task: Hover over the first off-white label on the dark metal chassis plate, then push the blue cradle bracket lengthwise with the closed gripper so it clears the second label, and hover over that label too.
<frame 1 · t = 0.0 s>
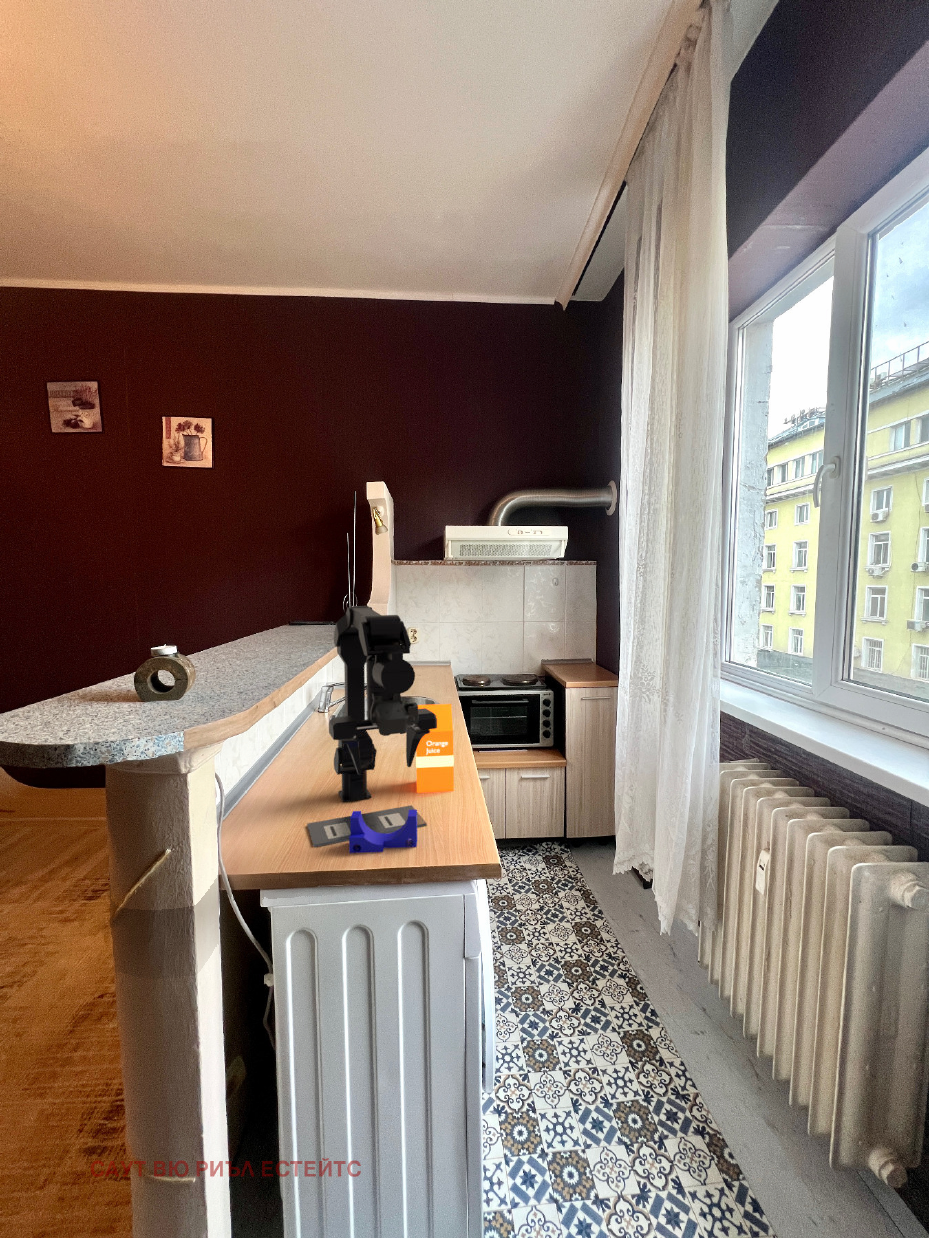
hand: (384, 770, 96), 15 cm above the countertop, fingers open, 9 cm apart
blue cradle bracket: (384, 848, 98), on the countertop
chassis plate: (366, 825, 107), on the countertop
orange juice: (434, 787, 129), on the countertop
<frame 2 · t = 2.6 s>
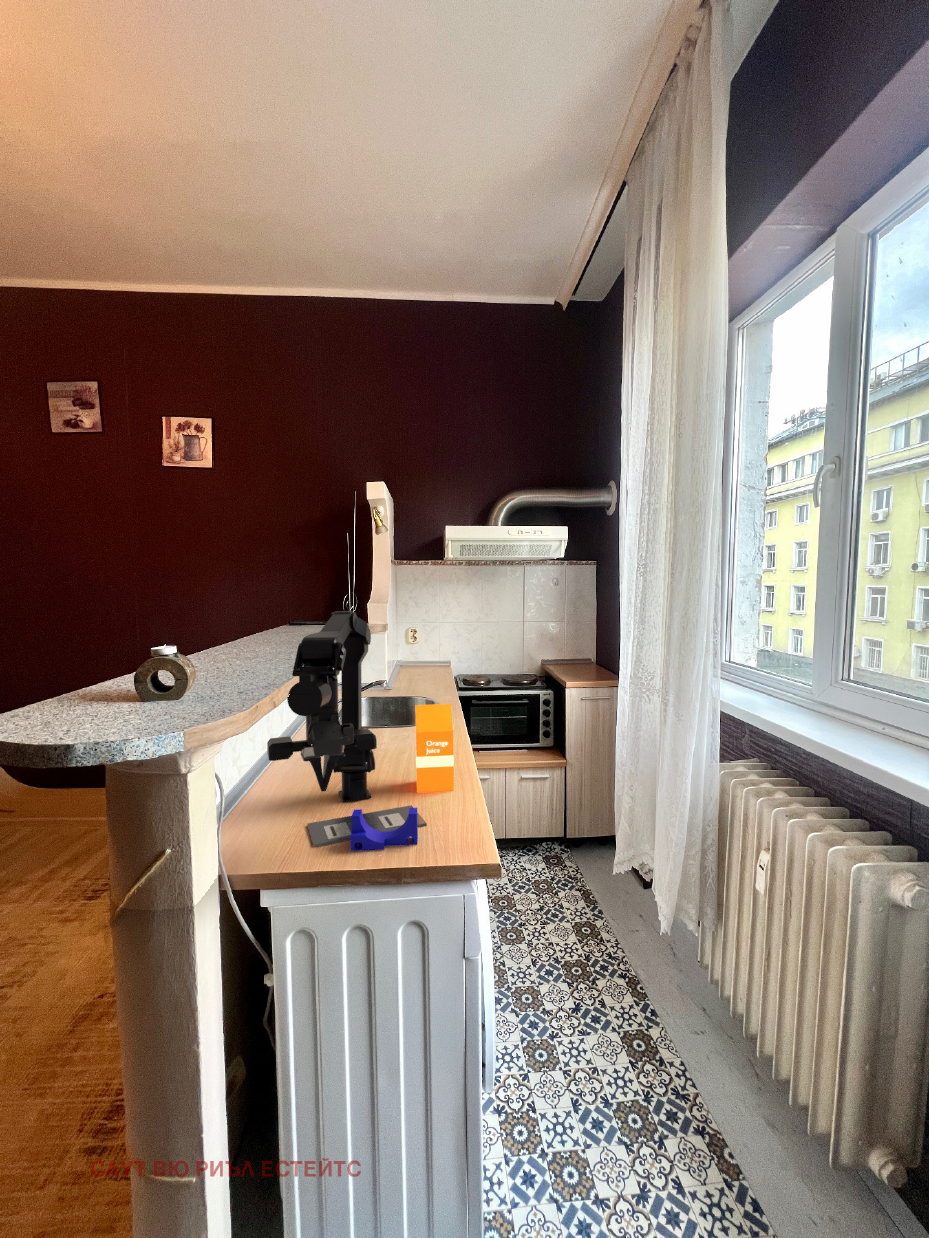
hand: (323, 790, 97), 11 cm above the countertop, fingers closed
nothing on the countertop moved.
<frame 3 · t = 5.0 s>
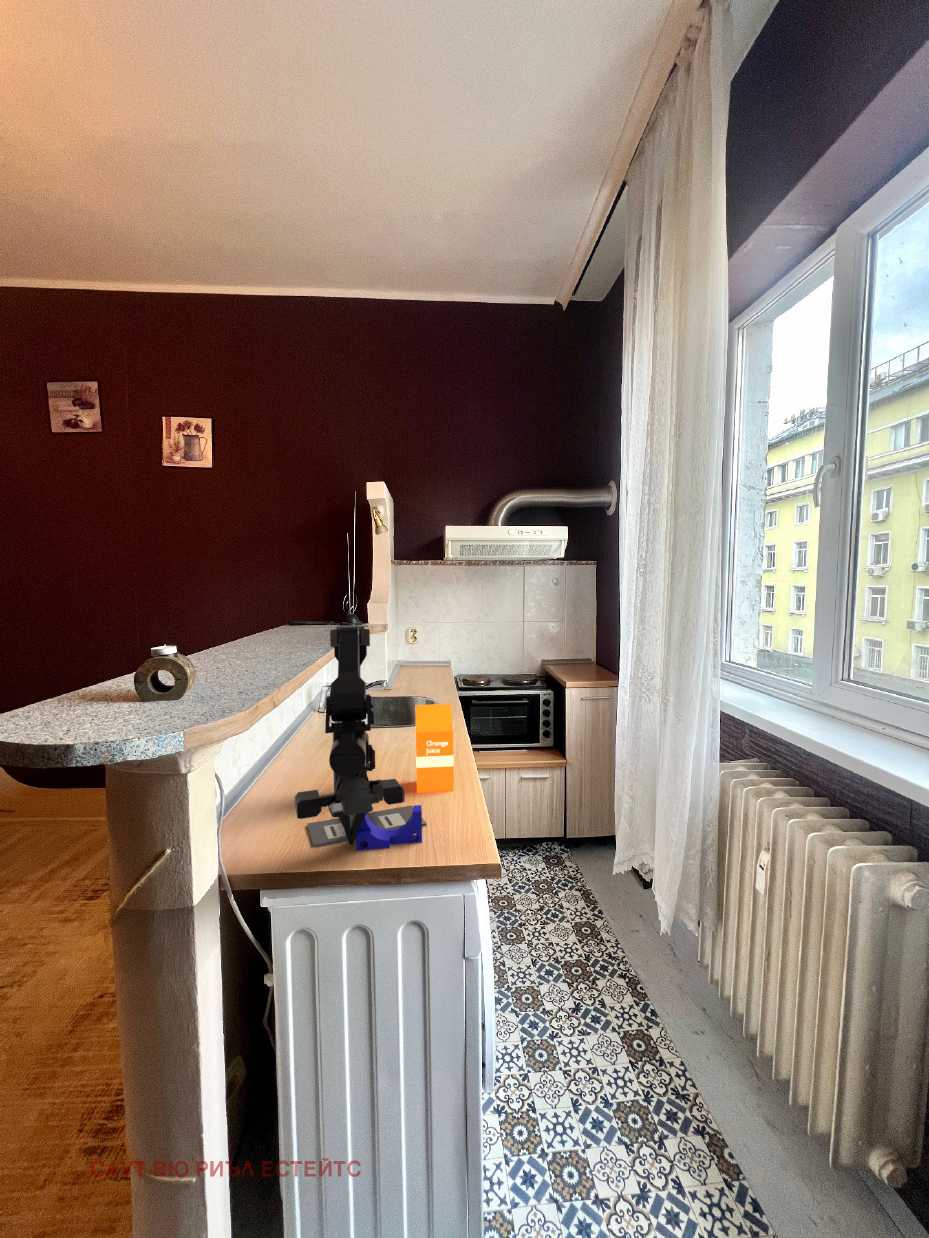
hand: (351, 844, 95), 2 cm above the countertop, fingers closed
blue cradle bracket: (390, 843, 100), on the countertop, touching gripper
everything else where it was.
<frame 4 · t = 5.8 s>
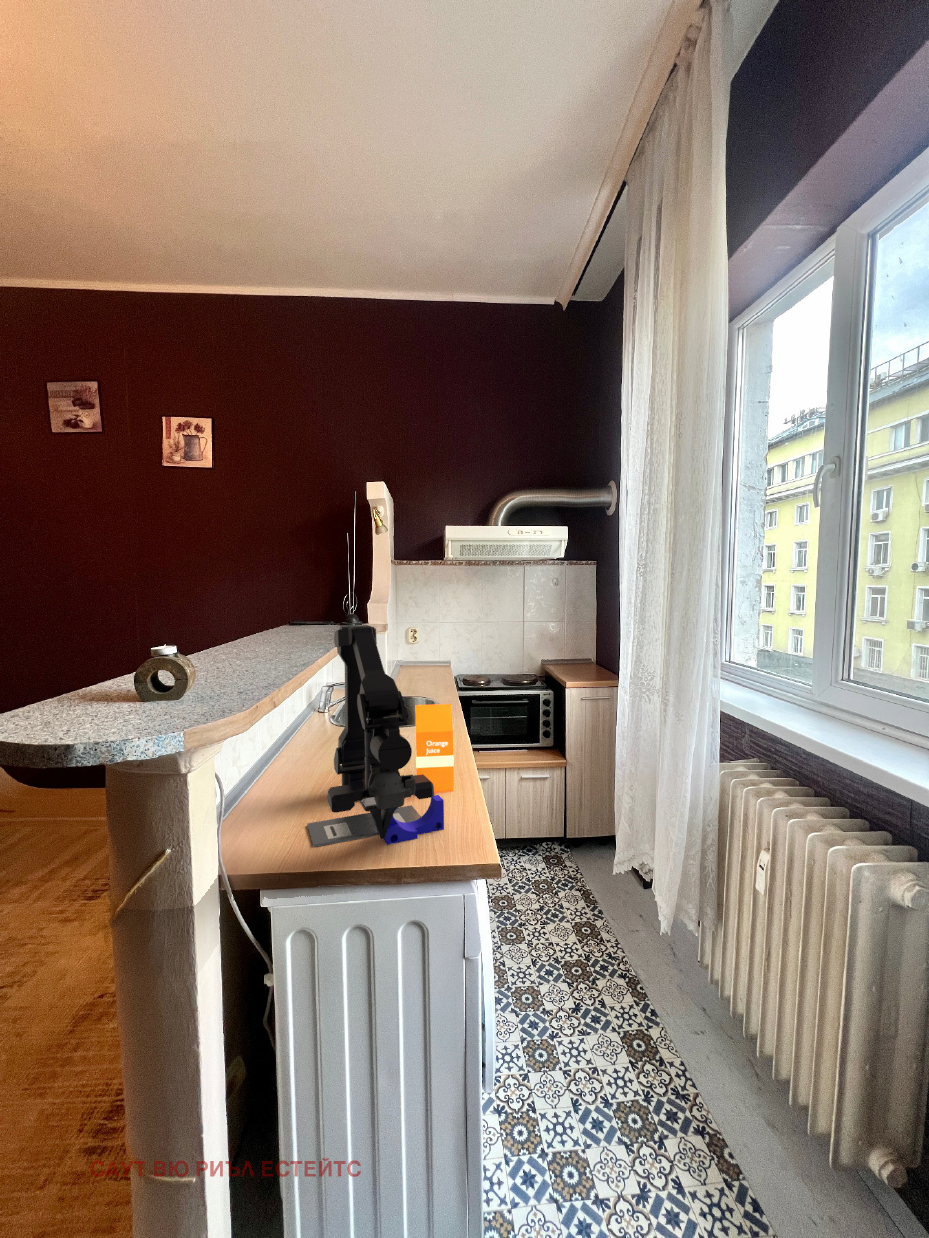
hand: (382, 838, 98), 2 cm above the countertop, fingers closed
blue cradle bracket: (413, 835, 103), on the countertop, touching gripper
everything else where it was.
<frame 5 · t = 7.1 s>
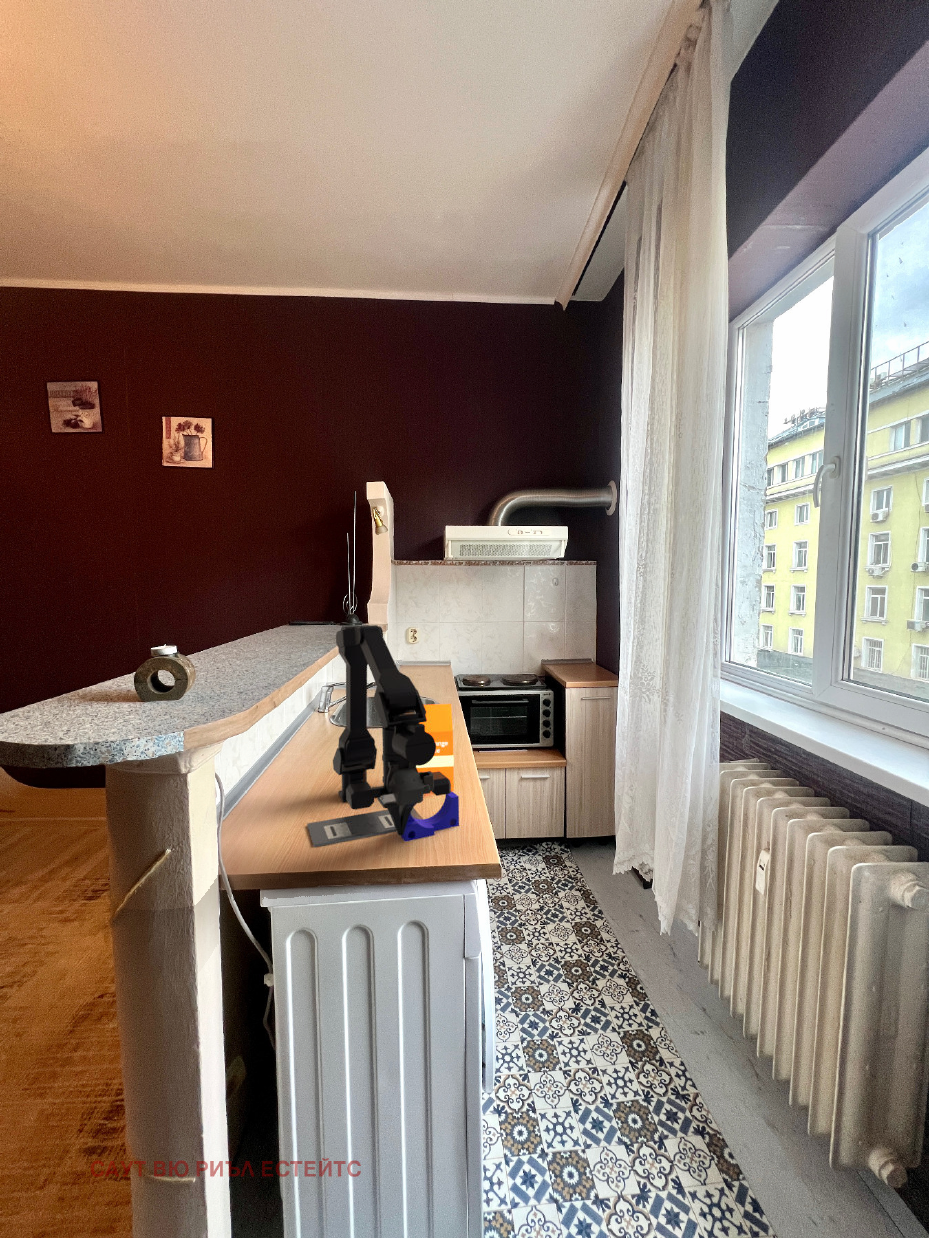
hand: (400, 834, 99), 2 cm above the countertop, fingers closed
blue cradle bracket: (430, 831, 104), on the countertop, touching gripper
everything else where it was.
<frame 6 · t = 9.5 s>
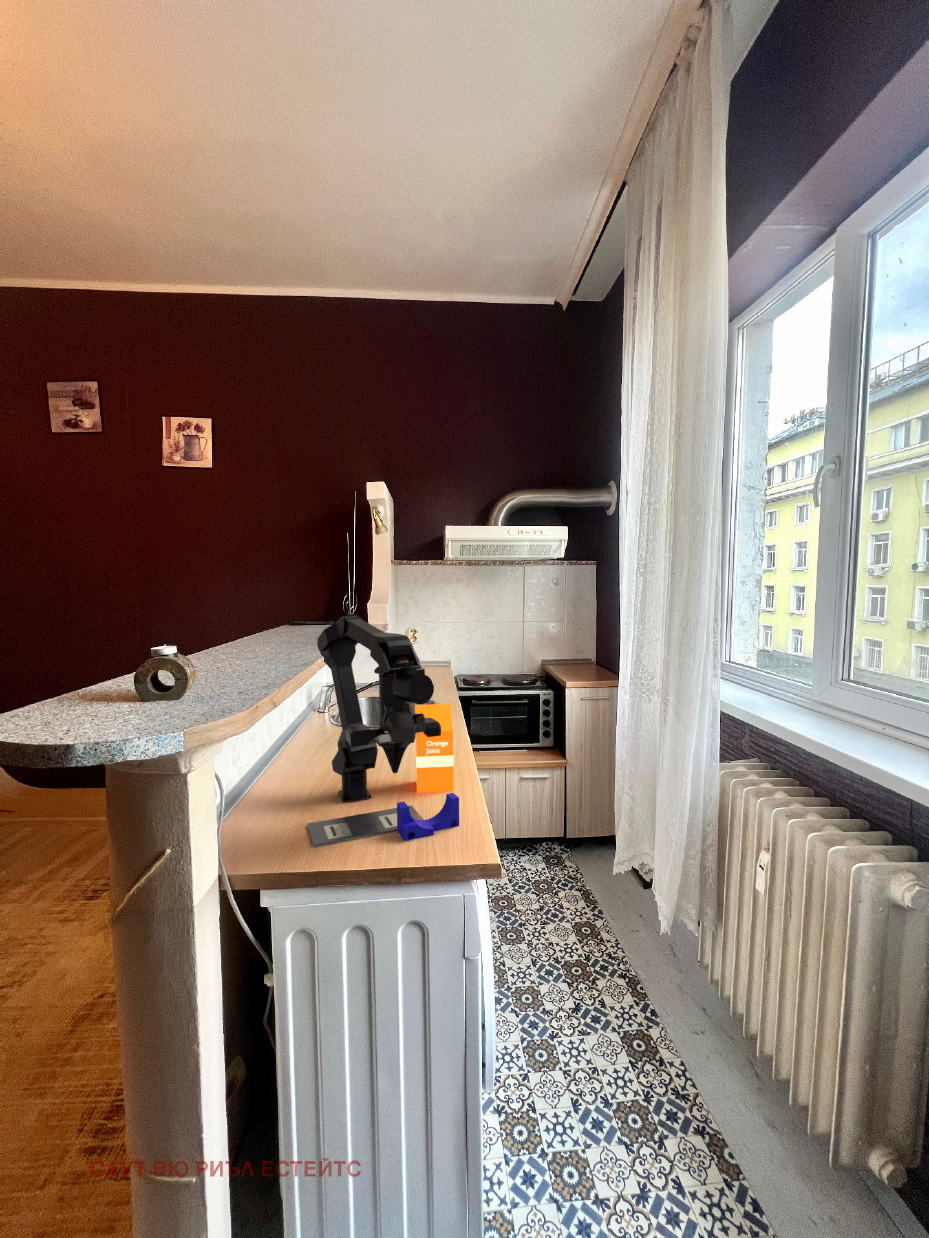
hand: (394, 772, 109), 10 cm above the countertop, fingers closed
blue cradle bracket: (430, 832, 105), on the countertop
everything else where it was.
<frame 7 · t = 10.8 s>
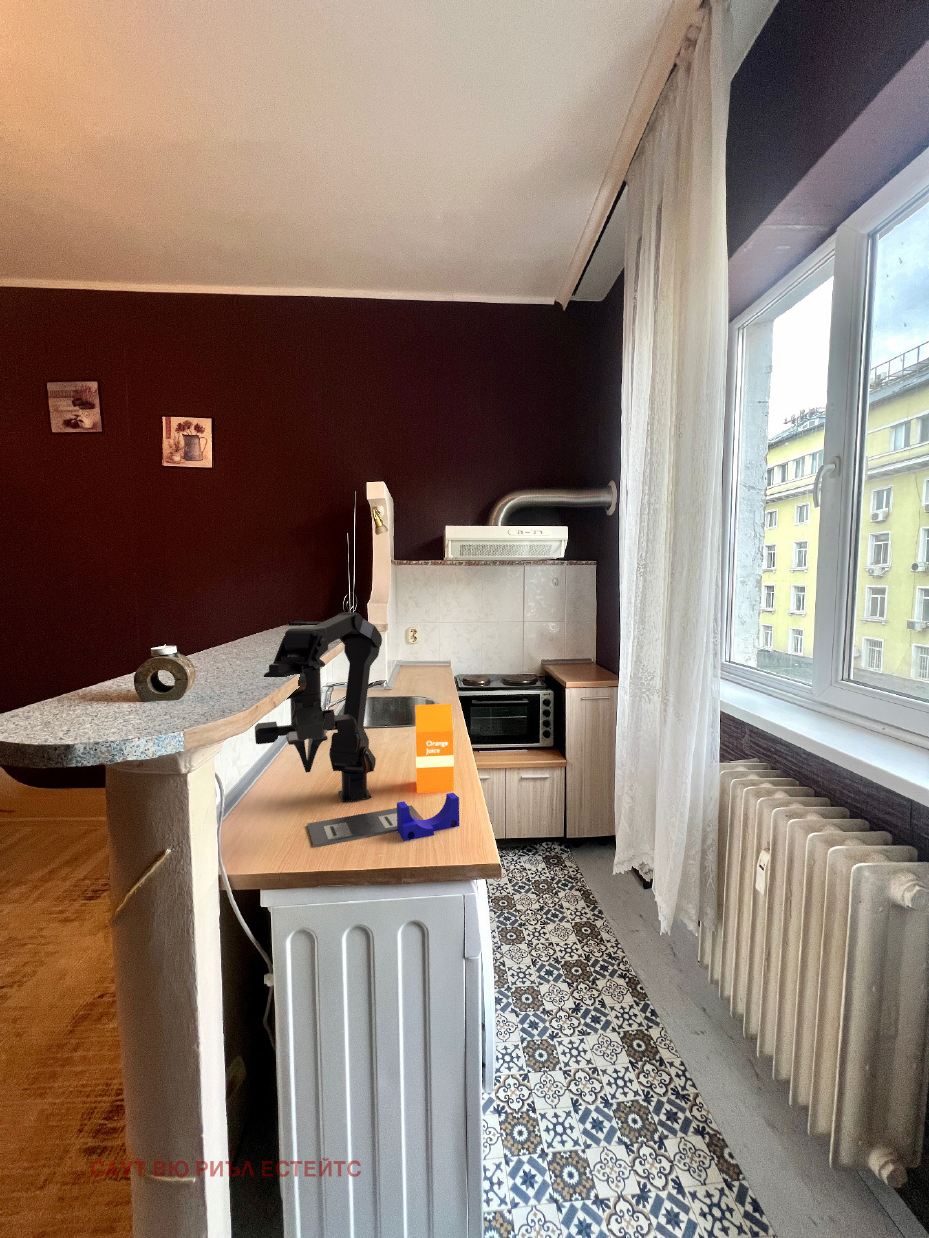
hand: (307, 771, 104), 12 cm above the countertop, fingers closed
nothing on the countertop moved.
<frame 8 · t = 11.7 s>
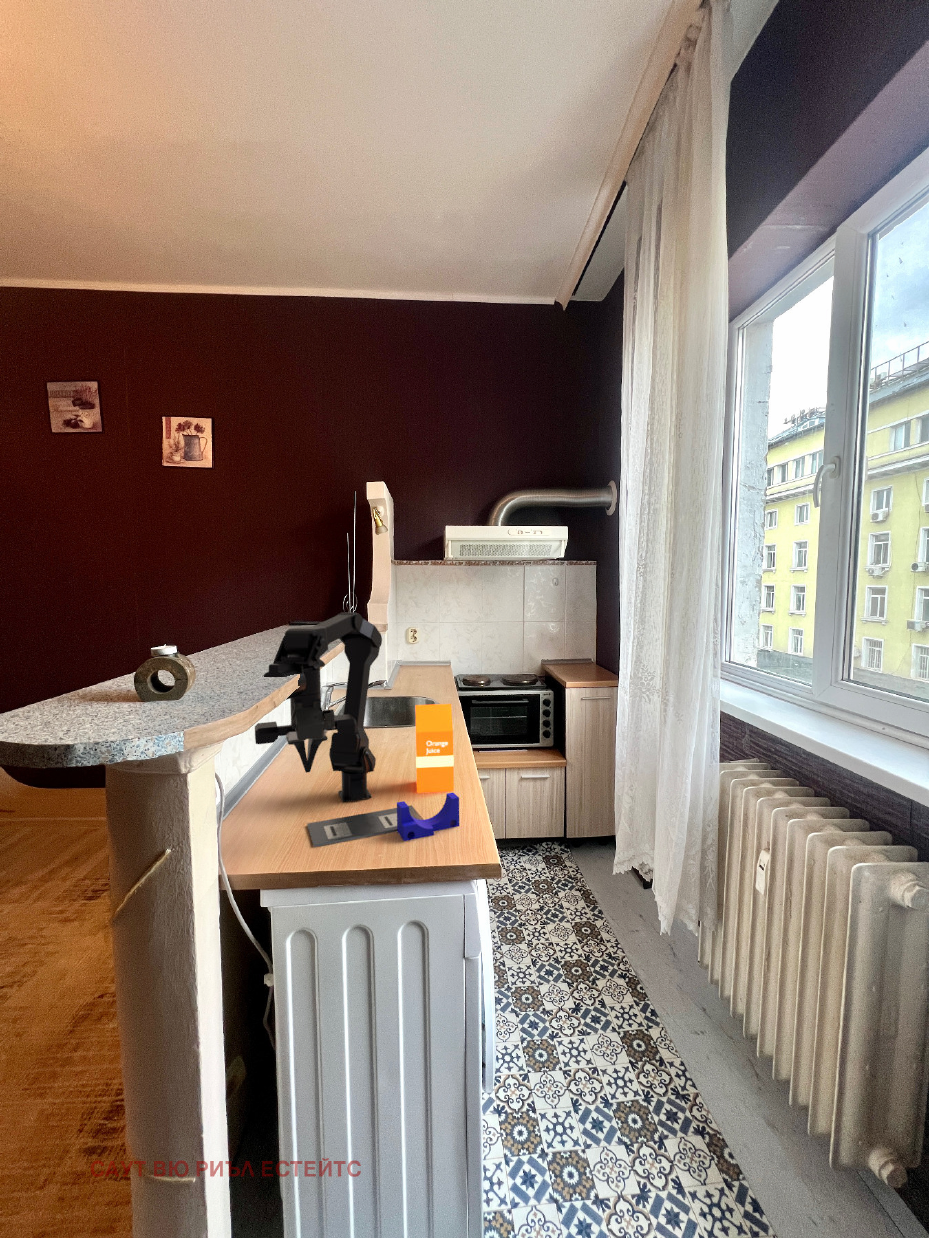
hand: (307, 771, 104), 12 cm above the countertop, fingers closed
nothing on the countertop moved.
at the end: blue cradle bracket inside the target area (3.1 cm from its centre), on the countertop; blue cradle bracket moved 10.3 cm from its start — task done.
